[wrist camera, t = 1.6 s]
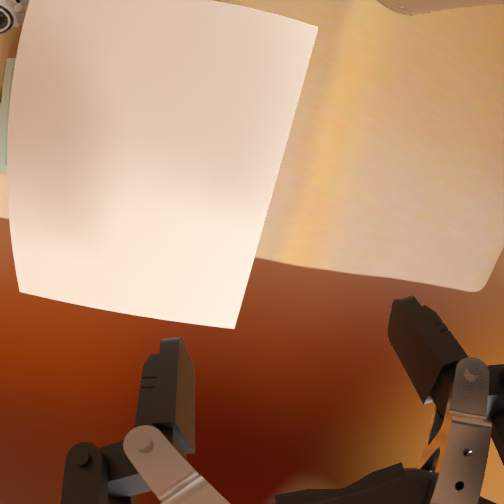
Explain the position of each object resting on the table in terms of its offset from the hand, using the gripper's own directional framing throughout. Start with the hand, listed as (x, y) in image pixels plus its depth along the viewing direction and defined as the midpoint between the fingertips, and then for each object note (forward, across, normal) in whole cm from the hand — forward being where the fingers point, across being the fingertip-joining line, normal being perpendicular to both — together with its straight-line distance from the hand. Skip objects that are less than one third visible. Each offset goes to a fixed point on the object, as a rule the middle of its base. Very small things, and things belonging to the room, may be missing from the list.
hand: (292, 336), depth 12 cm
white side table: (+23, +6, -5) cm, 25 cm away
